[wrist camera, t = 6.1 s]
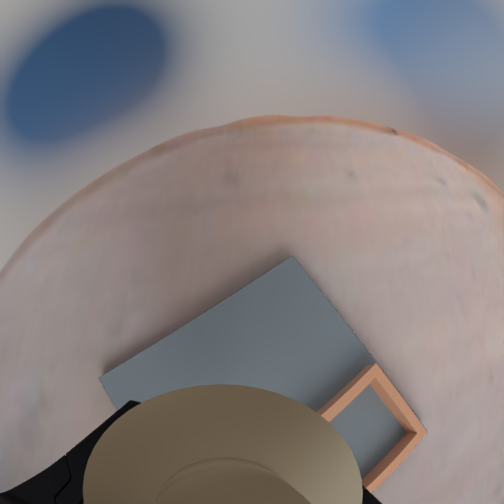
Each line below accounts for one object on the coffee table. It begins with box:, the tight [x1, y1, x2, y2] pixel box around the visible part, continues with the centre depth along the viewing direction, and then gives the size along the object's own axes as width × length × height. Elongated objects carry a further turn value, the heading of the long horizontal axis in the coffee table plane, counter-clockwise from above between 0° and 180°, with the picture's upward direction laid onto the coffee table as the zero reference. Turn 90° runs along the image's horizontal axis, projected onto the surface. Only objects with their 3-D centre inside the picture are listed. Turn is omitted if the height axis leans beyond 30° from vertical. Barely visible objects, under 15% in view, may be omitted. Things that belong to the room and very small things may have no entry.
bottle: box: [83, 384, 363, 504], centre depth 8 cm, size 5×5×12 cm
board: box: [98, 256, 427, 493], centre depth 19 cm, size 20×18×2 cm
